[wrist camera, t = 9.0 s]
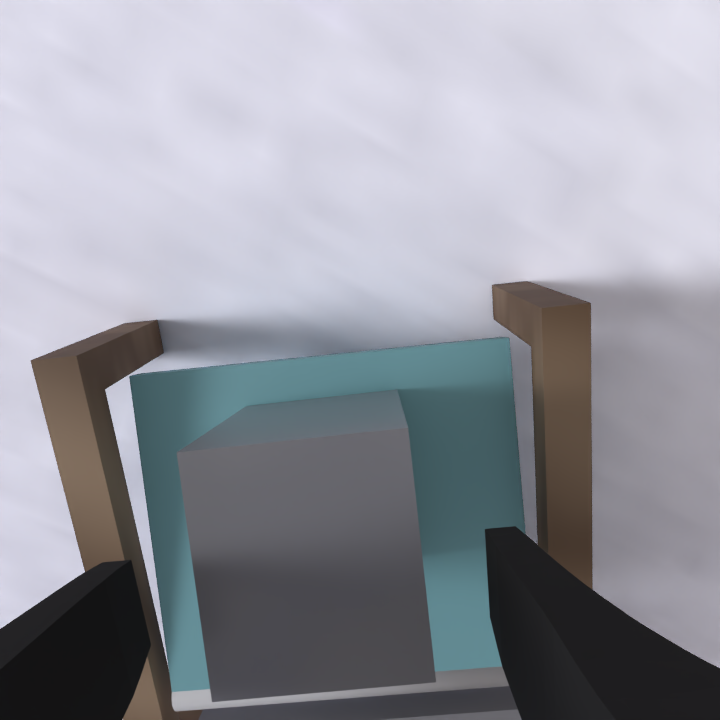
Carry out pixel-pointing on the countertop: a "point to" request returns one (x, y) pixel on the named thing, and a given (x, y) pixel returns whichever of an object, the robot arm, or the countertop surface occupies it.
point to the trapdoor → (433, 497)
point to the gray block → (308, 548)
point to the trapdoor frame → (143, 343)
